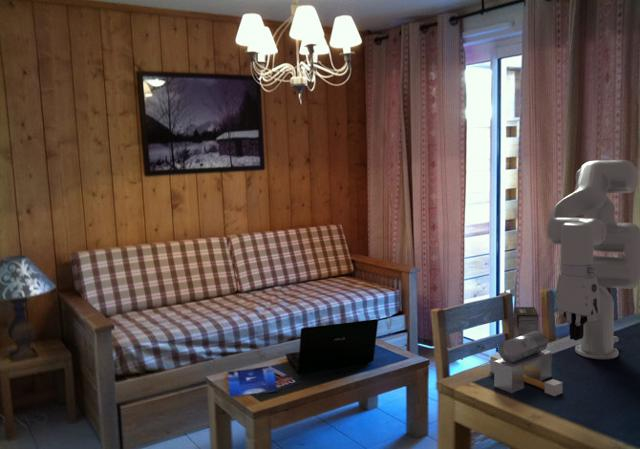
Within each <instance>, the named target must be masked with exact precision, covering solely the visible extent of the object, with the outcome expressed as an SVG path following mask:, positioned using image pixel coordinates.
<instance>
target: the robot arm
mask: <svg viewBox="0 0 640 449" xmlns="http://www.w3.org/2000/svg"><path fill="white" fill-rule="evenodd" d="M638 185H639V172H638V170H637V167H636V166H635V165H634V163H632V162H631V161H630V160H627V159H597V160H590V161H589V160H588V161H587V162H585V163H584V164H582V165H581V167H580V168H579V169H578V170H577V171H576V173H575V186H574V191H573V192H572V193H570V194H569V195H566V196H565V197H564V198H562V199H561V200H560V201H558V202H557V203H556V204H555V205H554V207H553V208H552V211H551V213H550V217H549V219H548V223H547V230H546V232H547V238H548V240H549V241H550V243H552V244H554V245H559V246H560V273H559V274H558V277H557V282H556V283H557V284H556V287H555V288H556V289H555V306H556V308H557V309H556V312H557V313H559V314H560V315H562V316H564V318H565V319H566V321H567V322H566V323H567V324H569V330H568V331H569V339H570V340H574V341H579V340H580V343H579V344H577V345H576V346H575V347H574V351H575V353H576V354H578V355H580V356H582V357H584V358H587V359H588V358H589V359H594V360H612V359H615V358H618V356H619V350H618V349H617V348H616V347H614V344H615V343H617V342H619V340H620V339H619V336H616V335H614V325H615V324H614V320H615V319H614V318H615V317H614V312H615V311H614V310H615V302H614V299H613V296H612V295H611V293H610V292H609V291H608V289H607V288H613V289H615V288H617V289H627V290H628V289H631V290H632V289H636V288H637V287H638V286H639V285H640V226H638V225H637V224H635V223H632V222H616V219H615V218H616V206H615V204H614V203H613V201H612V200H611V198H609V197H608V194H631V193H633V192H634V191H636V190H637V187H638ZM583 215H585V216H584V217H578V216H583ZM594 252H597V253H598V252H599V253H613V254H614V253H615V254H622V255H623V256H624V257H620V256H619V257H617V256H616V257H615V256H603V255H594Z"/></svg>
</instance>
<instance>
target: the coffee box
mask: <svg viewBox="0 0 640 449" xmlns="http://www.w3.org/2000/svg"><path fill="white" fill-rule="evenodd" d="M513 310H514V311H513V318H514V320H513V322H514V323H513V325H514V328H513V331H514V337H513V338H515V337H518V336H521V335H524V334H527V333H530V332H533V331H539V313H538V311H537V309H536V307H535V306H514V307H513Z"/></svg>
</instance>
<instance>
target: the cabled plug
mask: <svg viewBox="0 0 640 449" xmlns="http://www.w3.org/2000/svg"><path fill="white" fill-rule="evenodd" d="M489 356H490V360H489V361H488V362H489V364H490V365H489V366H490V369H489V370H490V372H491V373H492V374H494V361H496V360H499V359H501V356H500V354H499V352H498V353H495V354H493V355H489ZM524 383H526V384H529V385H532V386H534V387H537V388H539V389H542V390H544V393H545V394H547V395H550V396H553V397H556V396H559V395H561V394H563V381H559V380H557V379H554V378H552V379H549V380H547V381H539V380H536V379H534V378H531V377H528V376H526V375H524Z"/></svg>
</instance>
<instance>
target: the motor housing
mask: <svg viewBox="0 0 640 449" xmlns="http://www.w3.org/2000/svg"><path fill="white" fill-rule="evenodd" d="M547 347H548V340H547V337H546V335H544V334H543V333H542V331H539V330H538V331H533V332H530V333H527V334H524V335H521V336H518V337H515V338H514V337H513V338H510V339H507V340H504V341H502V342H500V343H499V346H498V353H499V354H500V356H501V359H499V360H496V361H494V373H493V377H494V378H493V379H494V380H493V382H494V384H493V386H494V387H495V388H497V389H500V390H503V391H505V392H507V393H510V394H513V393H516V392H518V391H520V390H523V389H525V382H524V375H526V376H528V377H531V378H534V379H536V380H539V381H541V382H543V381H544V380H546V379H549V378H551V377H552V351H551V350H550V351H549V350H547Z"/></svg>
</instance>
